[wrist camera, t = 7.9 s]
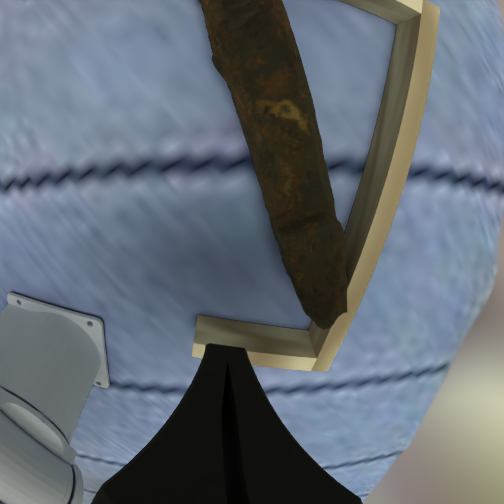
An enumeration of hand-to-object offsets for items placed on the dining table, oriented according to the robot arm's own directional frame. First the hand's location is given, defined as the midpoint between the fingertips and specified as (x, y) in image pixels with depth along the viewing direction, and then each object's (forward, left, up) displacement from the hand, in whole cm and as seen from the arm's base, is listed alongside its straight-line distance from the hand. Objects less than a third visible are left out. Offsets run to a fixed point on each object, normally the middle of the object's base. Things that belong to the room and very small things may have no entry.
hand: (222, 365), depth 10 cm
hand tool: (+2, +8, -10) cm, 13 cm away
